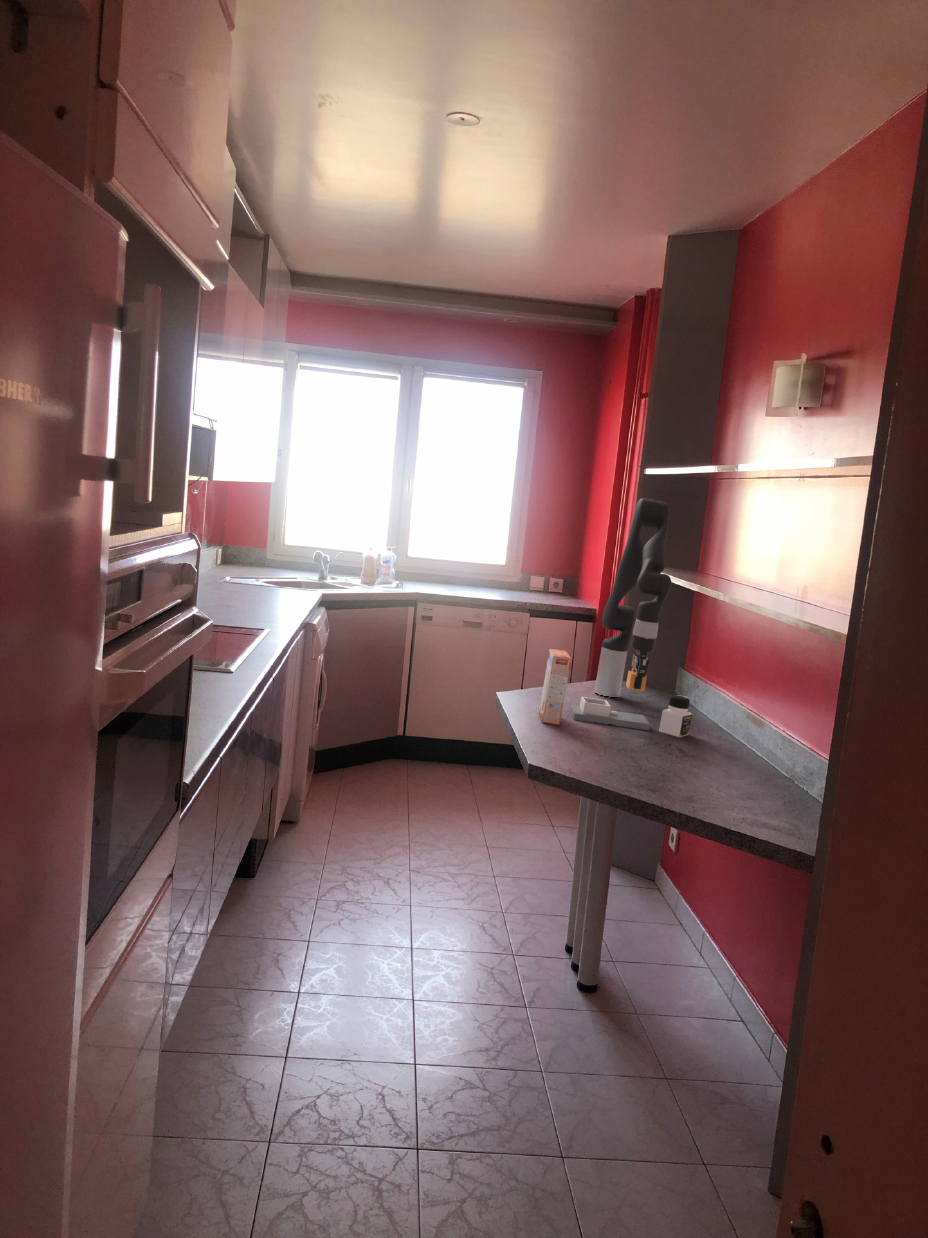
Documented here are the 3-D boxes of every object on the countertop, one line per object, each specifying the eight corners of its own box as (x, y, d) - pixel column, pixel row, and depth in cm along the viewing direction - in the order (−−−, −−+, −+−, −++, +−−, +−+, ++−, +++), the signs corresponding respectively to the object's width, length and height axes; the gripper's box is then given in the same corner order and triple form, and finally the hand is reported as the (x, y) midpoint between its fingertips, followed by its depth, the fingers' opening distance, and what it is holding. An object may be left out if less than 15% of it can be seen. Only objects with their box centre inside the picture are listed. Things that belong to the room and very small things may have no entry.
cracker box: (561, 726, 270) (572, 658, 267) (541, 723, 270) (552, 655, 267) (557, 715, 284) (568, 650, 281) (538, 712, 284) (548, 647, 281)
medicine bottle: (679, 737, 277) (686, 700, 276) (658, 731, 282) (665, 694, 280) (688, 735, 283) (695, 698, 282) (667, 729, 287) (674, 692, 286)
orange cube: (625, 685, 289) (628, 670, 289) (641, 688, 289) (643, 672, 289) (628, 689, 284) (631, 673, 284) (644, 691, 284) (647, 676, 284)
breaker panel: (569, 710, 293) (571, 694, 292) (641, 721, 293) (644, 704, 292) (573, 719, 281) (576, 702, 280) (649, 730, 281) (652, 713, 281)
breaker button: (587, 707, 288) (588, 701, 288) (599, 708, 289) (600, 702, 288) (589, 710, 284) (590, 703, 284) (601, 711, 285) (602, 705, 284)
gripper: (628, 629, 291) (619, 680, 294) (637, 636, 277) (627, 690, 280) (651, 632, 291) (642, 683, 294) (661, 640, 277) (651, 693, 280)
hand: (635, 686), depth 287 cm, fingers closed on orange cube, 5 cm apart
